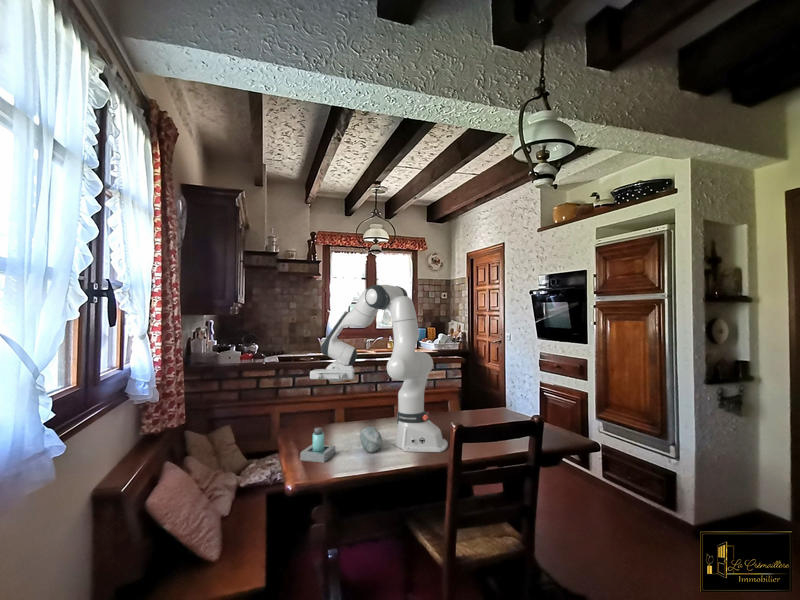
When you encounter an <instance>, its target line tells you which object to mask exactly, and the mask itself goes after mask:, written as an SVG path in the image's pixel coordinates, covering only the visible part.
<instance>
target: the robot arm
mask: <svg viewBox="0 0 800 600" xmlns="http://www.w3.org/2000/svg"><path fill="white" fill-rule="evenodd" d="M379 310H381V311H385V310H388V312H389V313H390V317H391V325H392V334H393V347H392V353H391V356H390V358H389V360H388V361H387V363H386V371H387V375H388V376H389V377H390V379H392V380H395V381H403V383H402V386H401V388H400V389H399V390H398V393H397V399H398V400H397V409H398V410H397V412H396V423H397V424H396V425H397V431H396V436H395V440H394V446H395V447H397V448H399V449H401V450H402V451H403V452H406V453H407V452H410V453H412V452H415V453H417V452H419V453H443V452H444V451H445V450H447V448H448V446H449V445H448V441H447V440H446V439H445V438H443V433H442V430H441V429H440V428H439V427H438V426H437V425H436V424H434V423H433V422H432V421H431V420H429V419H430V414H429V412H430V411H428V412H427V411H426V410H425V407H424V406H425V389H426V385H427V381H428V378H429V375H430V372H431V371H432V370H433V367H434V360H433V358H432V356H431V355H430V354H429V353H427V352H424V351H416V345H417V342H418V341H419V339H420V331H419V324H418V319H417V312H416V308H415V305H414V302H413V300H412V299H411V297H409V296H408V292H407V290H406V289H405V288H403V287H402V286H399V285H398V286H397V285H396V286H395V285H390V284H373V285H371V286H369V287H367V288H366V289H364V290H363V291H362V293H361V294H360V296H359V298H358V299H357V301H356V303H355V304H354V307H353V308H352V309H351V310H350V311H345V312H344V313H343V314H342V315H341V317H340V318H339V319H338V321H337V322H336V323H335V325H334V327H333V328H332V329H331V331H330V333H329V334H328V335H327V336H326V338H324V340H322V343H321V344H320V352H321V353H322V355H323V356H325V357H329V358H330V359H332V360H335V361H333V362H331V363H330V364H329V365H328V366H326V368H325V369H323V368H321V369H320V368H319V369H313V370H310V372H309V379H310V380H328V381H329V382H332V383H337V382H342V381H347V380H349V381H350V380H354V379H355V369H354V364H355V362H356V360H357V357H358V351H357V350H358V349H357V348H356V347H355V346H352V345H350V344H349V343H346V342H344V341H342V340H340V339H339V338H338V336H339V335H340V333H341V332H342V330H343V329H344V328H346V327H349V328H350V327H351V328H353V327H354V328H358V329H359V328H367V327H368V326H370V325H372V323H373V321H374V320H375V318H376V316H377V314H378V312H379Z"/></svg>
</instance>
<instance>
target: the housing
mask: <svg viewBox="0 0 800 600" xmlns="http://www.w3.org/2000/svg"><path fill="white" fill-rule="evenodd" d="M299 455H300V457H299V460H300V461H302V462H303V461H304V462H315V463H326V462H327V461H328V460H329V459H331V458H332V457H333V456H334V455H336V445H332V444H331V445H330V444H324V452H322V453H320V452H313V443H312V444H310V445H309V446H307V447H306V448H305V449H303V450H302V451H301V452H300V454H299Z"/></svg>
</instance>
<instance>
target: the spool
mask: <svg viewBox="0 0 800 600" xmlns="http://www.w3.org/2000/svg"><path fill="white" fill-rule="evenodd" d="M359 438H360V442H361V445H362V447H363V449H364V450H365V451H366V452H368V453H371V454H372V453H375V452H376V451H378V450H379V449H380V448H381V447H382V445H383V438H382V435H381V433H380V431H379V430H377V429H376V427H374V426H367V427H365V428H363V429H362V430H361V432H360V436H359Z"/></svg>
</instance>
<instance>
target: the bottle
mask: <svg viewBox="0 0 800 600" xmlns="http://www.w3.org/2000/svg"><path fill="white" fill-rule="evenodd" d="M313 430H314V431H313V433H312V444H313V452H320V453H322V452H324V445H325V432H323V431H324V430H323V427H315V428H314V429H313Z"/></svg>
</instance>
